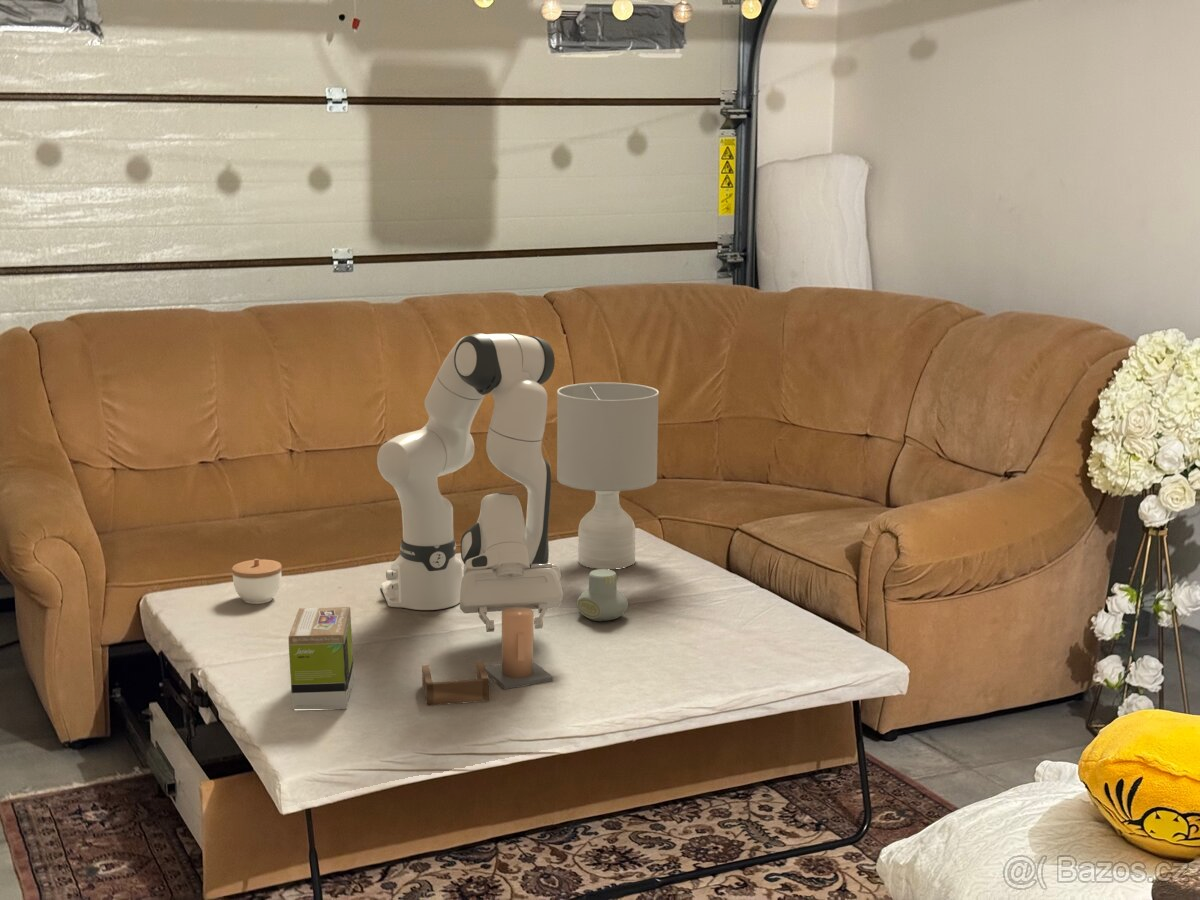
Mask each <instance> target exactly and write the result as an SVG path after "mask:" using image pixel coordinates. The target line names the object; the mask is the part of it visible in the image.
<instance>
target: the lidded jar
mask: <svg viewBox="0 0 1200 900" xmlns="http://www.w3.org/2000/svg"><path fill="white" fill-rule="evenodd" d="M282 569H283V566H282V563H280V562H279V561H277V560H272V559H264V558H263V559H261V558H260V559H259V558H254V559H251V560H244V561H241V562H238V563H236V564H234V565H233V566H232V567H231V573H232V581H233V586H234V589H235V592H236V593H237V595H238V596H239V597H240V598H241V599H243V601H244V603H247V604H251V605H261V604H266V603H269V602H271V601H272V600H273V599H274V597H275V596H276V595H277V594H278V592H279V591H280V587H281V584H282Z"/></svg>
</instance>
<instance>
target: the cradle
mask: <svg viewBox="0 0 1200 900" xmlns="http://www.w3.org/2000/svg"><path fill="white" fill-rule="evenodd" d="M475 663H476V665H475V666H476V679H475V678H474V679H462V680H461V679H460V680H449V681H448V680H447V681H445V680H444V681H433V677H432V673H431V668H430V666H429V664H425V665H424V664H423V665H421V668H422V669H421V673H422V678H421V679H422V680H421V681H422V688H423V693H424V694H423V695H424V697H425V701H426V702H427V703H426V702H425V703H426V706H427V705H428V706H439V705H438V704H441V705H449V704H448V703H455V704H464V703H463V702H468V703H475V702H474V701H482V702H489V701H488V700H490V699H491V698H490V696H491V695H490V693H491V692H490V677H489V675H488V674H487V672H486V669H485V667H486V666H485V664H484V661H483V660H482V661H481V660H480V661H476V662H475Z"/></svg>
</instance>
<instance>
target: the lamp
mask: <svg viewBox="0 0 1200 900" xmlns="http://www.w3.org/2000/svg"><path fill="white" fill-rule="evenodd" d="M659 393H660V392H659V390H658V389H657V388H654V387H652V386H647V385H642V384H636V383H627V382H624V383H623V382H583V383H575V384H569V385H565V386H562V387H560V388H558V389H557V393H556V394H557V398H556V399H557V400H556V402H557V403H556V404H557V406H556V408H557V414H556V415H557V416H556V418H557V419H556V420H557V421H556V422H557V425H556V426H557V429H556V430H557V434H556V435H557V436H556V442H557V443H556V444H557V447H556V454H557V455H556V456H557V459H556V460H557V461H556V464H557V465H556V467H557V468H556V470H557V471H556V472H557V473H556V474H557V475H556V479H557V482H558V483H559V484H561V485H563V486H566V487H569V488H571V489H577V490H582V491H590V492H595V503H594V505H593V507H592V509H590V510H589V512H588V511H587V513H586V514H585V515H584V516H583V517H582V518H581V519H580V522H579V525H578V532H577V535H578V536H577V537H578V541H577V542H578V545H577V549H578V550H577V554H578V556H577V557H578V559H577V561H578V563H579V564H580V565H581V566H583V567H585V566H586V568H588V567H590V568H589V569H593V568H597V569H616V568H623V567H627V566H630V565H632V564H633V565H634V564H635V563H636V532H637V531H636V526H635V522H634V519H633V518H632V517H631V515H630V514H628V513H627V512H626V511H625V510H624V509H623V508H622V506H621V504H620V498H619V495H620V492H625V491H626V492H628V491H635V490H641V489H645V488H649V487H651V486H653V485H655V484H656V483H657V480H658V442H659V441H658V440H659V438H658V437H659V436H658V435H659V433H658V431H659ZM633 565H632V566H633ZM630 567H631V566H630ZM597 569H596V570H597Z"/></svg>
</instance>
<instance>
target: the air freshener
mask: <svg viewBox="0 0 1200 900" xmlns="http://www.w3.org/2000/svg"><path fill="white" fill-rule="evenodd" d="M576 604H577V605H576V607H577V609H578V611H579V613H580V614H581V615H583V616H585V617H586V618H588V619H589V620H590V621H592V622H593V621H595V622H605V621H606V622H607V621H612V620H615V619H617V618H619V617H620V618H621V616H622V615H624V614H625V612H626V611H627V609H628V606H629V603H628V599H627V597H626V596H625V594H623V592H621V591H620V590H617V573H616V572H615V570H608V569H594V570H591V571H590V572H589V573H588V589H587V590H585V591H583V592H582V593H581V594H580V595H579V596H578V598H577V601H576Z"/></svg>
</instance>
